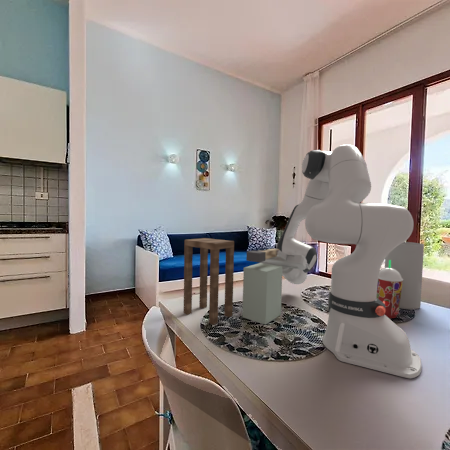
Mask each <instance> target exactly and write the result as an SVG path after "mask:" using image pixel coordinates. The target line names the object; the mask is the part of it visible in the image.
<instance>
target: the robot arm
mask: <svg viewBox="0 0 450 450" xmlns="http://www.w3.org/2000/svg"><path fill="white" fill-rule="evenodd" d="M301 168H302V171H301V172H302V175H303V176H304V177H305V178H306V179H309V181H308V183H307V187H306V188H305V192H304V196H303V198H302V200H301V202H300V203H299V204H296V205H295V206H294V208H293V209H292V210H291V213H290V216H289V217H288V219H287V223H286V225H285V227H284V229H283V232H282V235H281V237H280V238H279V240H278V241H277V243H276V248H275V249H279V250H276V255H277V256H276V257H272V258H269V259H265V261H263V262H258V263H263V264H270V265H276V266H282V278H283V277H284V279H285V280H286V281H288V282H289V283H291V284H294V285H301V284H304V283H305V281H306V280H307V277H308V272H310V271H311V270H313V269H314V267H315V265H316V263H317V261H318V253H317V250H316V248H315V247H313V246H312V245H309V244H306V243H303V242H302V241H299V240H298V239H296V238H295V235H296V232H297V230H298V228H299V226H300V224H301V222H302V221H305V222H304V224H305V229H306V232H307V234H308V236H309V237H310V238H311V239H312V240H315V241H319V242H324V243H329V244H341V245H342V244H343V245H345V244H347V245H355V249H354V251H352V253H350V254H348V255H346V256H343V257H341V258H339V259H337V260H336V261H335V262H334V263H333V264H332V267H331V278H330V280H331V282H330V291H329V293H328V298H327V299H328V300H327V301H328V302H327V303H328V304H327V307H328V310H327V311H328V318H327V325H326V329H325V332H324V335H323V337H322V343H323V345H324V347H325V348H326V349H327V350H329V351H330V352H331V353H333V355H334V356H335V357H336V359H337V360H338V361H340V362H343V363H346V364H350V365H354V366H358V367H363V368H367V369H371V370H374V371H379V372H383V373H385V374H390V375H394V376H397V377H402V378H406V379H414V378H416V377H418V376H419V375H420V374H421V372H422V368H423V367H422V359H421V357H420V356H419V354H418V353H417V352H416V351H415V350H414V349H411V348H412V347H411V343H410V340H409V336H407V333H406V332H405V330H403V329H402V328H401V327H400V326H399V325H397V324H396V323H395V322H394V321H392V320H391V318H388V317H387V316H386V315H385V312H386V309H385V301H383V302H382V301H380V300H379V299H378V298H377V284H378V277H379V271H380V270H381V269H382V265H383V263H384V262H385V258H386V257H387V255H388V254H389V253H390V252H391V251H392V250H393V249H394V248H395V247H397V246H398V245H400V244H402V243H403V242H407V240H408V239H409V238H410V236H411V235H412V233H413V231H414V222H415V221H414V218H413V215H412V214H411V212H410V211H409V210H408V208H407V207H405V206H400V205H396V204H391V203H386V202H385V203H383V202H379V203H377V202H363V201H364V200H365V199H366V198H367V197H368V196H369V195H370V193H371V190H372V182H371V178H370V174H369V169H368V167H367V163H366V160H365V158H364V156H363V154H362V153H361V151H360V150H359V148H358V147H357V146H355V145H352V144H347V143H345V144H342V145H341V144H340V145H339V146H337V147H336V148H334V149H333V150H332V151H329V150H328V151H327V150H320V149H315V150H314V149H313V150H310V151H309V152H307V153H306V155H305V156H304V158H303V160H302V163H301ZM266 250H268V249H266ZM257 251H262V250H260V249H258V250H257Z"/></svg>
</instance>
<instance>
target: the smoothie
mask: <svg viewBox="0 0 450 450" xmlns="http://www.w3.org/2000/svg"><path fill="white" fill-rule="evenodd" d="M402 283H403V279H402V277H401V275H400V273H399V272H398V271H397V270H395V269H393V268H391V260H389V267H387V268H385V267H384V268H380V271H379V277H378V284H377V298H378V299H379V300H380V301H382V302H383V301H385V309H386V312H385V315H386V316H387V317H388V318H389V319H395V318H397V317H398V315H399V314H400V313H399V312H400V308H399V306H400V299H401V291H402Z"/></svg>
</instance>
